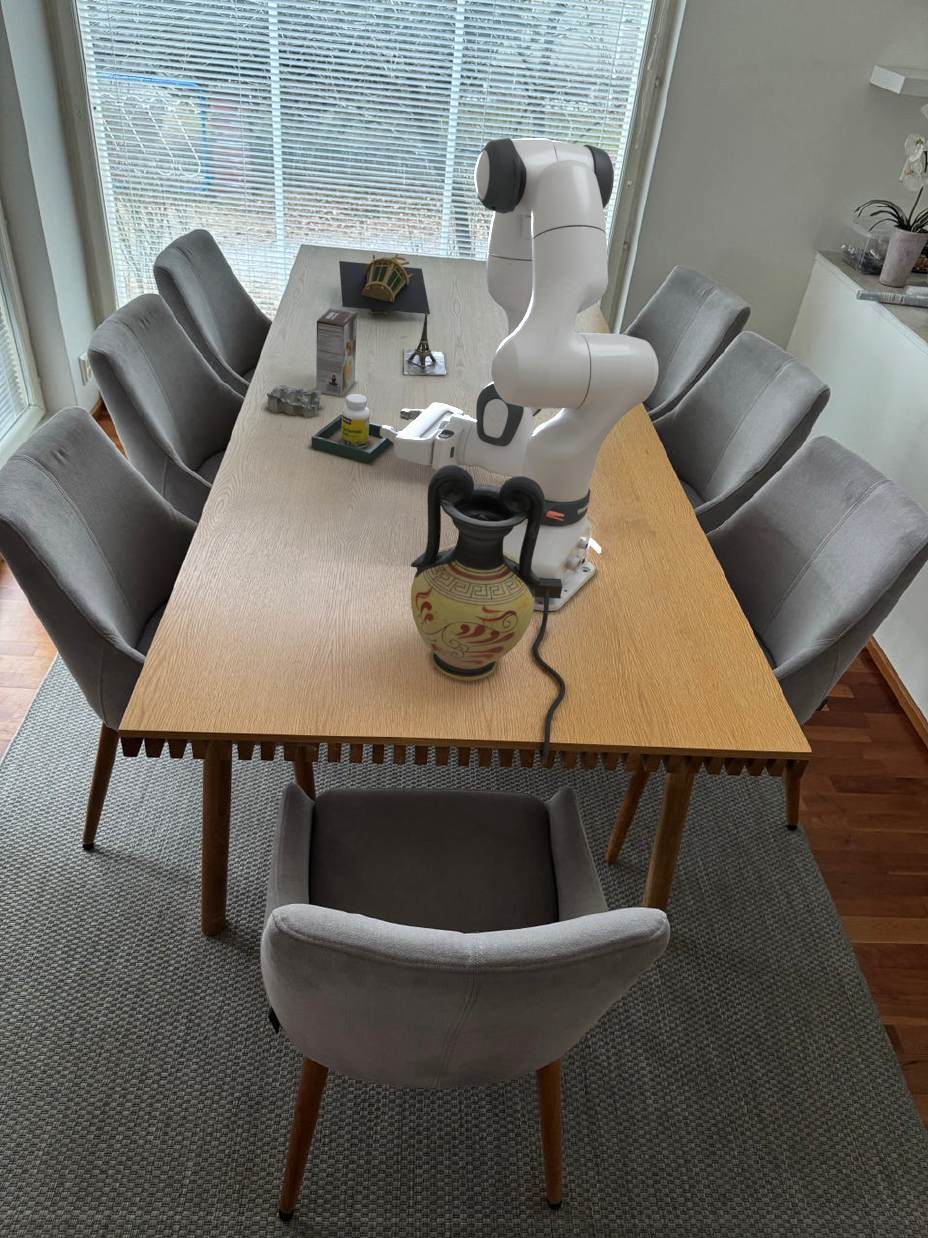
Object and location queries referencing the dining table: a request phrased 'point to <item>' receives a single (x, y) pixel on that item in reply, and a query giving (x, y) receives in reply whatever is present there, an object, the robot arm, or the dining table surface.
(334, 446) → the square frame
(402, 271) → the lantern
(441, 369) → the eiffel tower figurine
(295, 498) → the dining table surface
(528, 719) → the dining table surface
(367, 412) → the supplement bottle
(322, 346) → the coffee box
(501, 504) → the amphora
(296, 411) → the egg carton
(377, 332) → the dining table surface
